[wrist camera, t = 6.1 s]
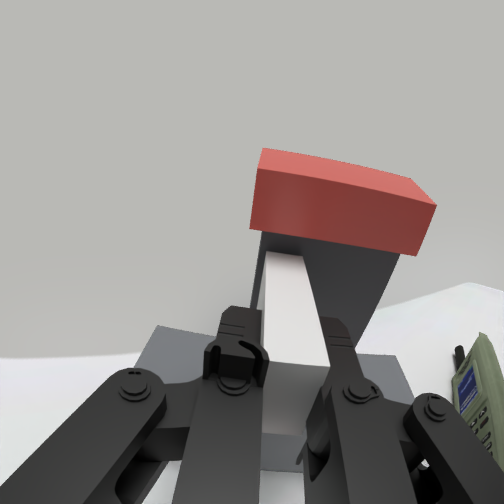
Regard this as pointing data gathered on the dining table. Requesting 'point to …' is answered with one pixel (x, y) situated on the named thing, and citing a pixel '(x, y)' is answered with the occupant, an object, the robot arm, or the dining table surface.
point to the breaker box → (272, 445)
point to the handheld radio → (481, 395)
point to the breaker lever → (337, 228)
